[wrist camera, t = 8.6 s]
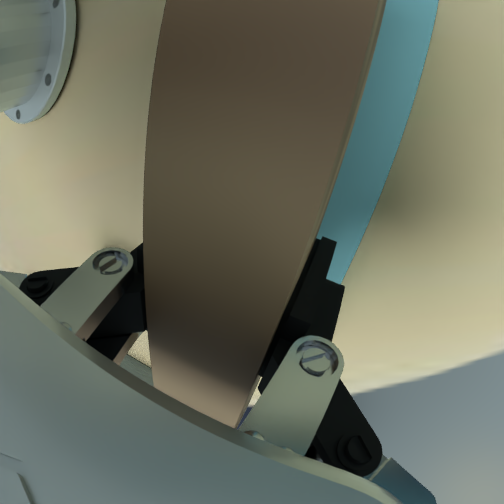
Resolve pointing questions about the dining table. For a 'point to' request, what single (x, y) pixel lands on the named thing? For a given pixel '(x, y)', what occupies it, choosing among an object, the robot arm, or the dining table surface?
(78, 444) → the robot arm
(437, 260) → the dining table surface
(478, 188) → the dining table surface
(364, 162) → the mat
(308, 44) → the rail
